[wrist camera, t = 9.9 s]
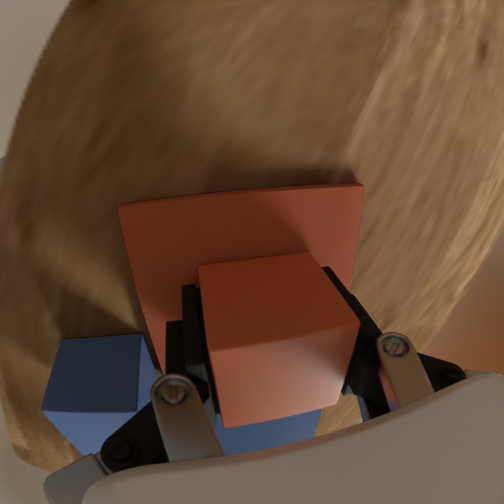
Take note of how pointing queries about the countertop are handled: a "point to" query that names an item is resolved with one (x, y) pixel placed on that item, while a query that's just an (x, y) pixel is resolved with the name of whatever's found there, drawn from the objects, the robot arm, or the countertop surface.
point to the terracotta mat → (233, 238)
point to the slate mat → (266, 433)
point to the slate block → (97, 387)
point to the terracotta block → (275, 337)
